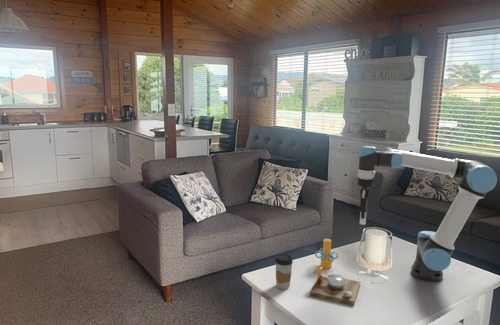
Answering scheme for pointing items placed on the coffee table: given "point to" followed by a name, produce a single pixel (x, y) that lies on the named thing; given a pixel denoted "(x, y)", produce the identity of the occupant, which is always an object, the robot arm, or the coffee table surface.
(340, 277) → the knob
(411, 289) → the coffee table surface
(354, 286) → the base
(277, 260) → the coffee cup
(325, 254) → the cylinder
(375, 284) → the coffee table surface
